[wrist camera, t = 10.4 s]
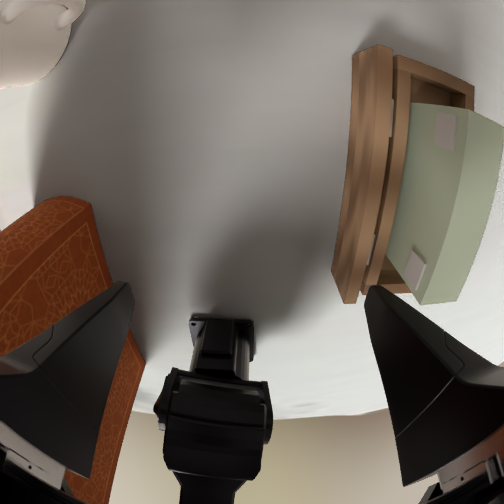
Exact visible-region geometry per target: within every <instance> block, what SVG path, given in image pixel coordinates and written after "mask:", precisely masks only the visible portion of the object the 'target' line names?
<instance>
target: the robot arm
mask: <svg viewBox="0 0 504 504" xmlns="http://www.w3.org/2000/svg"><path fill="white" fill-rule="evenodd" d="M134 305H135V299H134V296H133V292H132V289H131V286H130V283H129V282H124V281H119V282H117V283H115V284H114V285H112V286H111V287H109V288H108V289H106V290H104V291H103V292H101V293H100V294H98V295H97V296H95V297H94V298H92V299H91V300H89V301H88V302H86V303H84V304H83V305H81V306H80V307H78V308H77V309H75V310H74V311H72V312H71V313H69V314H68V315H66V316H65V317H64V318H62V319H61V320H59V321H58V322H56V323H55V324H54V325H52V326H50V327H49V328H48V329H46V330H45V331H43V332H42V333H40V334H39V335H37V336H36V337H34V338H32V339H31V340H29V341H27V342H26V343H24V344H23V345H21V346H19V347H18V348H16V349H14V350H13V351H11V352H9V353H8V354H6V355H4V356H1V357H0V504H89V503H87V502H84V501H82V500H80V499H78V498H76V497H75V496H74V495H73V493H72V491H71V489H70V487H69V485H68V483H67V481H66V479H65V478H64V475H65V471H66V469H67V470H69V471H71V472H73V473H75V474H78V475H80V476H82V477H85V478H87V479H90V476H91V470H92V465H93V460H94V454H95V450H96V445H97V440H98V436H99V431H100V427H101V422H102V418H103V414H104V411H105V407H106V403H107V399H108V396H109V392H110V389H111V385H112V382H113V378H114V375H115V372H116V369H117V365H118V362H119V359H120V356H121V353H122V350H123V347H124V344H125V341H126V338H127V334H128V330H129V325H130V321H131V317H132V313H133V309H134ZM364 309H365V313H366V318H367V323H368V329H369V334H370V339H371V343H372V347H373V350H374V354H375V357H376V360H377V364H378V368H379V371H380V375H381V379H382V383H383V386H384V390H385V394H386V398H387V403H388V407H389V411H390V415H391V420H392V425H393V430H394V435H395V440H396V446H397V451H398V457H399V463H400V470H401V476H402V483H403V486H404V487H405V486H408V485H411V484H413V483H416V482H418V481H421V480H423V479H426V478H428V477H430V476H433V475H435V474H438V478H439V482H438V483H436V484H434V485H432V486H430V487H428V489H427V491H426V493H425V494H424V496H423V498H422V499H421V501H420V502H419V504H504V367H500V366H496V365H494V364H492V363H491V362H489V361H488V360H486V359H485V358H483V357H482V356H480V355H479V354H477V353H476V352H474V351H472V350H471V349H469V348H468V347H466V346H465V345H464V344H462V343H461V342H459V341H458V340H456V339H455V338H454V337H452V336H451V335H450V334H448V333H447V332H446V331H444V330H443V329H442V328H440V327H439V326H438V325H436V324H435V323H434V322H432V321H431V320H429V319H428V318H427V317H425V316H424V315H423V314H421V313H420V312H418V311H417V310H416V309H414V308H413V307H412V306H410V305H409V304H407V303H406V302H404V301H403V300H402V299H400V298H399V297H397V296H396V295H394V294H393V293H392V292H390V291H389V290H387V289H386V288H384V287H383V286H381V285H371V286H370V287H369V289H368V293H367V296H366V299H365V303H364ZM193 322H194V323H193ZM248 324H249V325H248ZM189 328H190V332H191V337H192V342H193V346H194V350H193V355H192V360H191V365H190V370H189V371H184V370H179V369H178V368H174V367H172V370H171V373H170V374H168V376H166V378H165V382H164V386H163V389H162V392H161V394H160V396H159V397H158V399H157V401H156V403H155V405H154V409H153V411H154V413H155V414H156V415H157V419H158V427H159V430H162V431H165V435H164V444H163V454H164V456H163V457H164V461H165V463H166V465H167V468H168V469H169V470H171V471H173V473H174V475H175V477H176V478H177V480H178V482H179V484H180V485H181V491H180V501H179V504H234V497H235V492H236V491H237V490H238V489H239V488H240V487H241V486H242V485H243V484H244V483H245V482H246V481H247V480H251V481H252V480H253V479H255V477H256V476H257V474H258V473H259V471H260V469H261V458H262V451H263V445H264V444H268V442H269V440H270V438H271V433H272V427H273V411H272V405H271V399H270V394H269V388H268V382H267V381H261V382H258V381H249V362H252V361H253V345H254V322H253V321H251V320H232V319H204V318H191V319H190V320H189Z"/></svg>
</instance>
